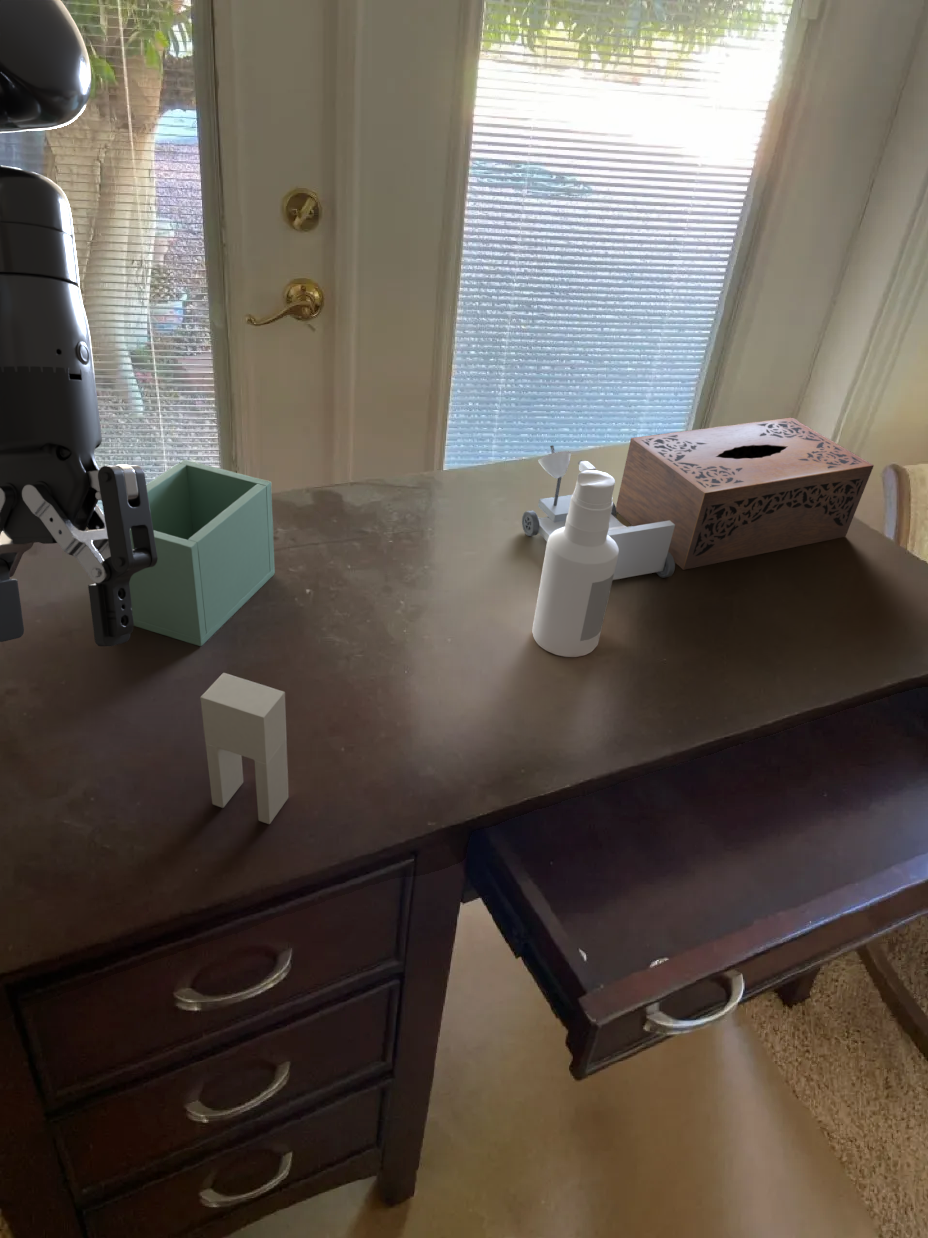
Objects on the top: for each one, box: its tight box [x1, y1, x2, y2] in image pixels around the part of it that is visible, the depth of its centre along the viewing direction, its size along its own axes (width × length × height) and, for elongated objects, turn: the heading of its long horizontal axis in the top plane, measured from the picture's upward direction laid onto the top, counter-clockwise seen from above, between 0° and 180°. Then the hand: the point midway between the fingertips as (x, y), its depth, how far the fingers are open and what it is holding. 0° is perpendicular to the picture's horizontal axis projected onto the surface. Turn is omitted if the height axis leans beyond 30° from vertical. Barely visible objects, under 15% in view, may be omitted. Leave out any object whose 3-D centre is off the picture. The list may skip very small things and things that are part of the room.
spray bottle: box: [531, 470, 619, 658], centre depth 85 cm, size 7×7×18 cm
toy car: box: [521, 444, 676, 581], centre depth 102 cm, size 18×10×12 cm
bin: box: [100, 458, 276, 647], centre depth 87 cm, size 14×10×11 cm
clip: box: [199, 672, 290, 825], centre depth 66 cm, size 5×3×11 cm, turn 71°
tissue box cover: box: [615, 417, 875, 571], centre depth 110 cm, size 26×14×10 cm, turn 115°
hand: (59, 641), depth 54 cm, fingers open, 8 cm apart
